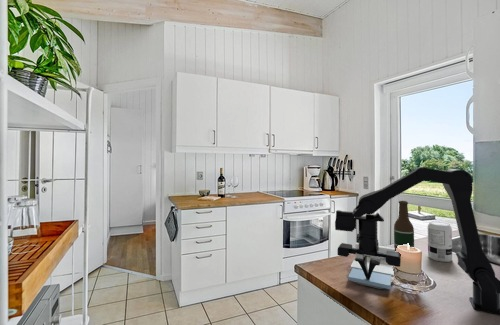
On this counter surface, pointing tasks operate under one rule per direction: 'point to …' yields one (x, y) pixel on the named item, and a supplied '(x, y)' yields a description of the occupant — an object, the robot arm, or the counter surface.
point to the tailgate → (375, 280)
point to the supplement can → (440, 241)
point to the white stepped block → (381, 268)
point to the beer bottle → (403, 227)
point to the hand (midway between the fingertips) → (368, 279)
